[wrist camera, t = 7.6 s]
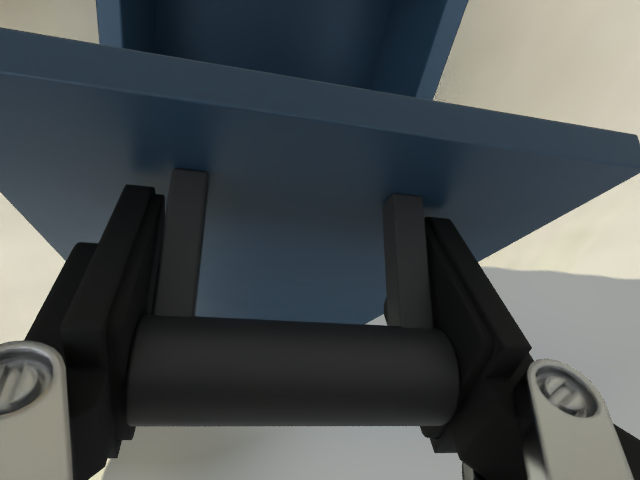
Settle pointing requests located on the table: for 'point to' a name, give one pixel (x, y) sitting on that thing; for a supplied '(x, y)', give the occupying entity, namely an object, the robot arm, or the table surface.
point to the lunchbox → (297, 37)
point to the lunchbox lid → (281, 222)
